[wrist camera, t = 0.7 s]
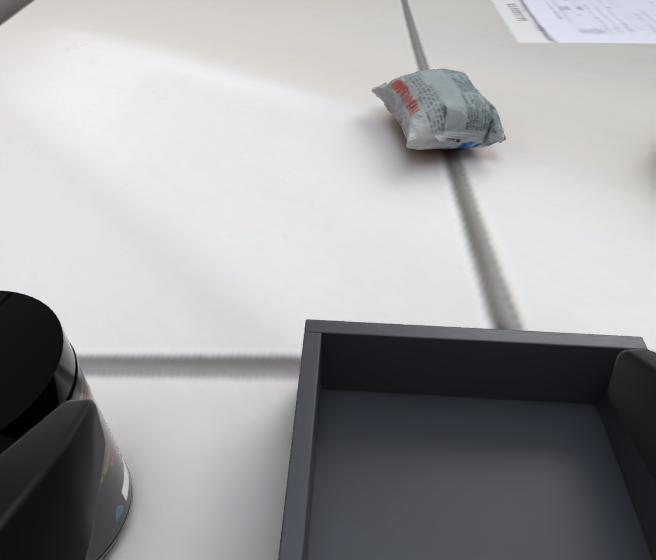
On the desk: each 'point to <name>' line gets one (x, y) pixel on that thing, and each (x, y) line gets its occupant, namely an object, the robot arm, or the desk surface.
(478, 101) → the packaged food
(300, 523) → the square tray
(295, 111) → the desk surface
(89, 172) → the desk surface
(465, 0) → the desk surface
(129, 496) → the supplement container
